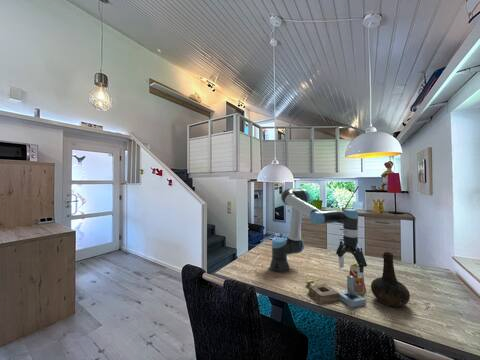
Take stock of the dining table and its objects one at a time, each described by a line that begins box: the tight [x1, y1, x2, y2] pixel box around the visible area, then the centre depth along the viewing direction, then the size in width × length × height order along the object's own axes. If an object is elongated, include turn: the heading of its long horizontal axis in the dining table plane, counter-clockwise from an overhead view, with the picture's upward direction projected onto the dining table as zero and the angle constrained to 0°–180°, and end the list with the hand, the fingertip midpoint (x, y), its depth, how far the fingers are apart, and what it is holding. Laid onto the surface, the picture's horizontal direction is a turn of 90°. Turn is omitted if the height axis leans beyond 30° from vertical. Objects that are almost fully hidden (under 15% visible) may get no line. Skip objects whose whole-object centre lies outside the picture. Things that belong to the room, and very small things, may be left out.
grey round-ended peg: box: [346, 274, 355, 299], centre depth 118 cm, size 4×4×14 cm
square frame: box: [338, 290, 367, 308], centre depth 118 cm, size 10×10×3 cm
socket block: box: [308, 283, 340, 304], centre depth 123 cm, size 12×12×4 cm
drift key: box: [306, 279, 316, 287], centre depth 132 cm, size 9×4×3 cm, turn 16°
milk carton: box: [348, 259, 367, 295], centre depth 130 cm, size 9×9×20 cm
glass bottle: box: [370, 251, 411, 308], centre depth 116 cm, size 18×18×28 cm
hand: (350, 272), depth 118 cm, fingers open, 13 cm apart
